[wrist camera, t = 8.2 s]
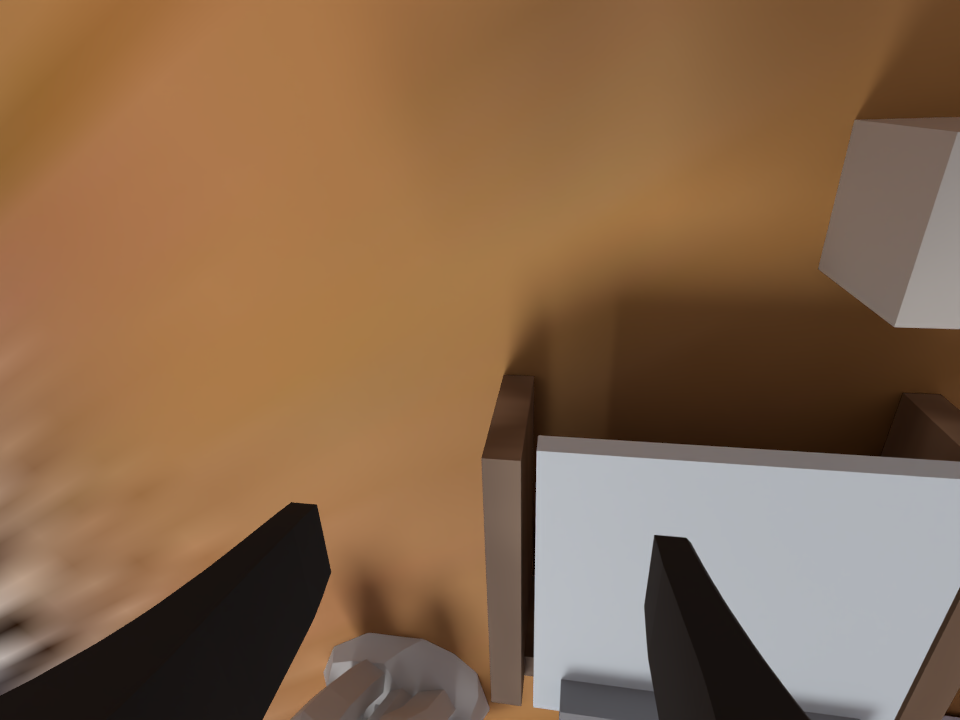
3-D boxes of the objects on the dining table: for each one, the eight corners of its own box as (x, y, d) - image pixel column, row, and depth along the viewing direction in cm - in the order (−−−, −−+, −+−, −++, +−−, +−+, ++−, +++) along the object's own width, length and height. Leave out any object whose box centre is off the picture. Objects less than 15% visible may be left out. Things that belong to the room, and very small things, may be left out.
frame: (941, 394, 19) (1064, 499, 14) (850, 628, 24) (918, 762, 20) (503, 374, 22) (481, 458, 17) (507, 590, 27) (491, 701, 22)
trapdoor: (990, 463, 15) (1046, 515, 13) (865, 732, 20) (893, 795, 18) (538, 435, 16) (533, 476, 15) (534, 686, 22) (530, 739, 20)
